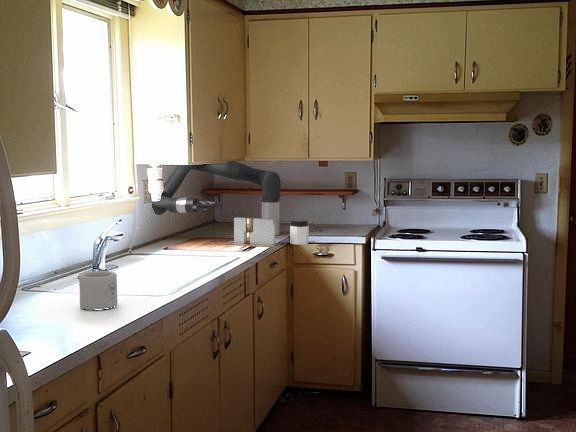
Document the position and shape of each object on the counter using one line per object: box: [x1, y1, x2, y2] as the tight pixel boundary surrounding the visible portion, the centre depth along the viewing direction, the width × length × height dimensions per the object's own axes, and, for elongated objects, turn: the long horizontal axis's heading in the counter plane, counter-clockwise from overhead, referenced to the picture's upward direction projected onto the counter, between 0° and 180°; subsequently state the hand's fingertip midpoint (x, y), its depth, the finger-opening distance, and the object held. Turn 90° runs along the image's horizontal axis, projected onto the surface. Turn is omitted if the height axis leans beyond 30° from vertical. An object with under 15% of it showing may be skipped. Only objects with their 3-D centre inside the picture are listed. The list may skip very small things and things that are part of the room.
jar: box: [289, 218, 310, 245], centre depth 325 cm, size 9×8×12 cm
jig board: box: [220, 240, 281, 248], centre depth 322 cm, size 12×26×1 cm, turn 71°
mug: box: [78, 270, 118, 311], centre depth 206 cm, size 14×11×10 cm
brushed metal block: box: [233, 217, 253, 244], centre depth 322 cm, size 8×3×12 cm, turn 71°
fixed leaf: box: [246, 217, 276, 246], centre depth 319 cm, size 3×14×12 cm, turn 70°
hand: (218, 205), depth 325 cm, fingers open, 8 cm apart
